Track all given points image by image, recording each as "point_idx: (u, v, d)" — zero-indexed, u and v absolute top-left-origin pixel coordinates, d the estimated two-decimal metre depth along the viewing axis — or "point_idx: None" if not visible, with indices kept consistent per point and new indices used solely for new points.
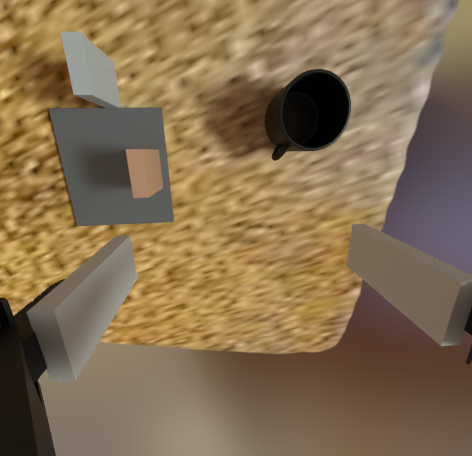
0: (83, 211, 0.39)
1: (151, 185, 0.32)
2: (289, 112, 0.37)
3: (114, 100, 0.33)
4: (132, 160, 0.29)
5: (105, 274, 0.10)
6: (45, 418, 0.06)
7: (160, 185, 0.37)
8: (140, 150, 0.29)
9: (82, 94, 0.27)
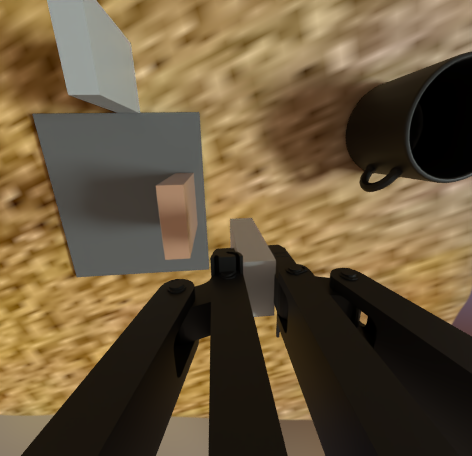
0: (85, 258, 0.28)
1: (191, 235, 0.21)
2: None
3: (131, 102, 0.22)
4: (166, 203, 0.18)
5: None
6: None
7: (195, 224, 0.26)
8: (180, 187, 0.17)
9: (83, 93, 0.15)
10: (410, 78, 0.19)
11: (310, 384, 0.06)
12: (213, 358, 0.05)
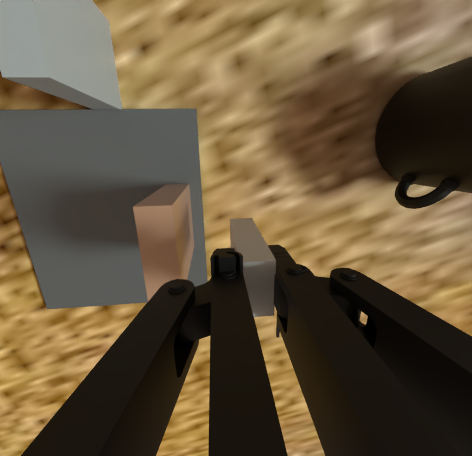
0: (56, 287, 0.23)
1: (184, 268, 0.16)
2: None
3: (109, 94, 0.17)
4: (148, 230, 0.13)
5: None
6: None
7: (192, 247, 0.21)
8: (167, 208, 0.12)
9: (25, 76, 0.11)
10: None
11: (310, 384, 0.06)
12: (213, 358, 0.05)
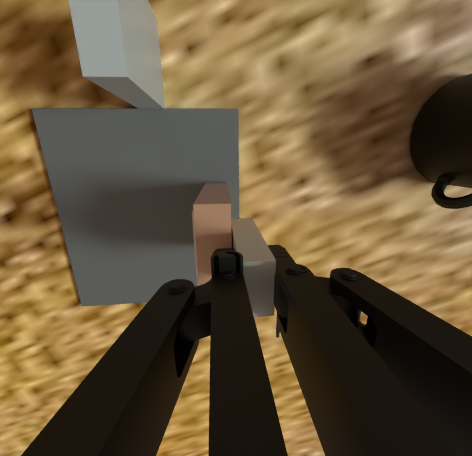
0: (92, 284, 0.23)
1: None
2: None
3: (158, 94, 0.17)
4: (206, 228, 0.13)
5: None
6: None
7: None
8: (226, 207, 0.13)
9: (104, 75, 0.11)
10: None
11: (310, 384, 0.06)
12: (213, 358, 0.05)
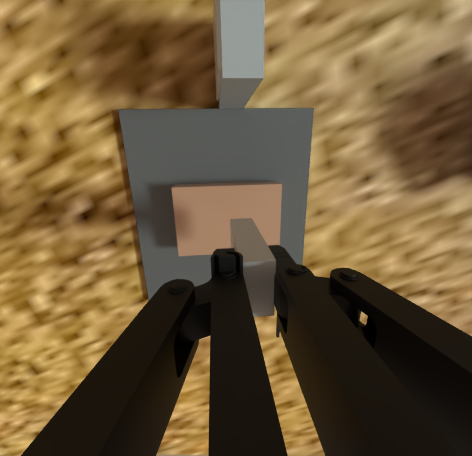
0: (161, 280, 0.24)
1: (199, 241, 0.20)
2: None
3: None
4: None
5: None
6: None
7: None
8: (172, 189, 0.19)
9: (241, 77, 0.11)
10: None
11: (310, 384, 0.06)
12: (213, 358, 0.05)
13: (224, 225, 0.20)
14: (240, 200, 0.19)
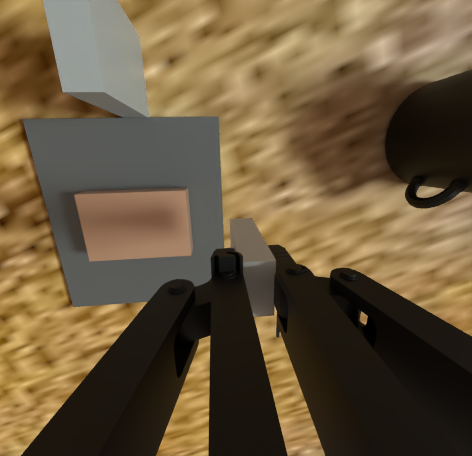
0: (83, 285, 0.24)
1: (109, 246, 0.21)
2: None
3: (140, 104, 0.18)
4: None
5: None
6: None
7: (170, 250, 0.21)
8: None
9: (82, 90, 0.12)
10: None
11: (310, 384, 0.06)
12: (213, 358, 0.05)
13: (132, 231, 0.20)
14: (145, 206, 0.20)
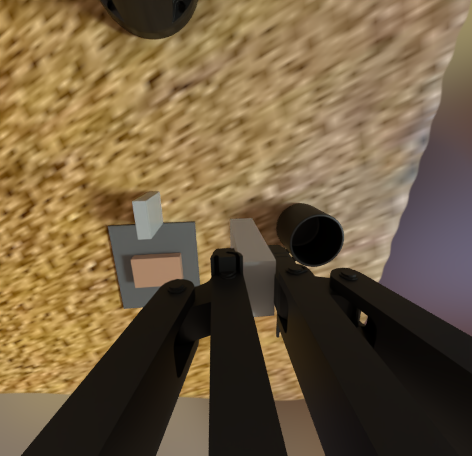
0: (129, 298, 0.48)
1: (144, 281, 0.45)
2: None
3: (160, 222, 0.43)
4: None
5: None
6: None
7: None
8: (131, 259, 0.44)
9: (144, 238, 0.36)
10: (295, 217, 0.40)
11: (310, 384, 0.06)
12: (213, 358, 0.05)
13: (155, 274, 0.45)
14: (161, 263, 0.44)
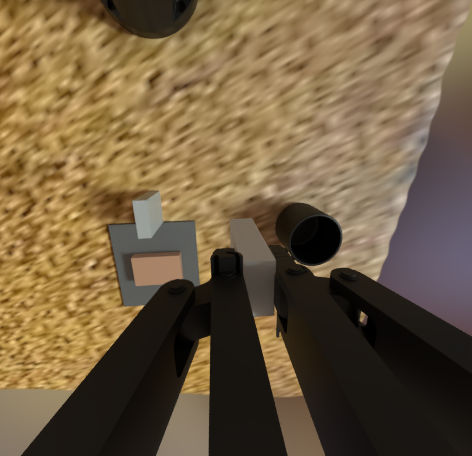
0: (129, 296, 0.49)
1: (144, 279, 0.46)
2: None
3: (160, 221, 0.43)
4: None
5: None
6: None
7: None
8: (131, 258, 0.44)
9: (144, 237, 0.37)
10: (294, 217, 0.40)
11: (310, 384, 0.06)
12: (213, 358, 0.05)
13: (155, 272, 0.45)
14: (161, 262, 0.45)
